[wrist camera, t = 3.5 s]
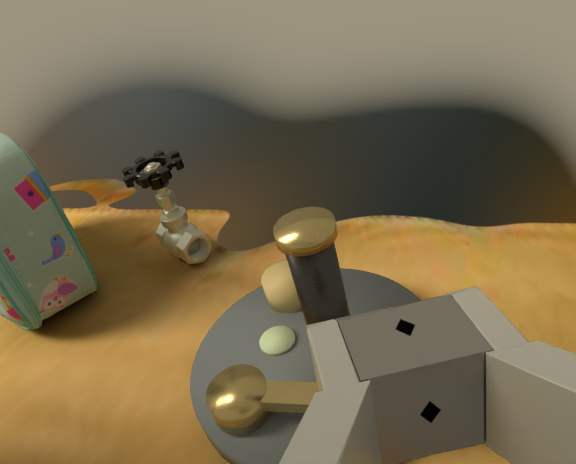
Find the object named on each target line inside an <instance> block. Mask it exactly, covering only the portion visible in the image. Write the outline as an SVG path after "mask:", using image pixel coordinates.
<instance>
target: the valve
mask: <svg viewBox="0 0 576 464" xmlns="http://www.w3.org/2000/svg"><path fill="white" fill-rule="evenodd" d="M135 163H136V166H134V167H130V166H129V167H126V168H124V169H123V170H122V172H123V174H124V176H125V177H124V178H123V180H124V182H125V184H126V186H127V187H128V188H130V187H133V186H134V184H133V182H134V181H135V182H136V183H137V184H138V185H140V186H141V187H142V188H148V187H151V189H152V190H157V191H158V194H157V195H156V199H157V202H158V204H159V206H160V207H162V208H163V209H164V210H163V211H162V214H161V215H160V221H161V224H160V225H159V227H158V228H157V230H156V235H157V237H158V240H159V242H160V244H161V245H162V246H163V247H165V248H166V249H167V250H168V251H169V252H170V253H171V254H172V255H173V256H175V257H178V258H181V259H182V260H184V261H185V262H187V263H188V264H196V263H202V262H204V261H205V260H206V258H207V257H208V256H209V254H210V252H211V250H212V244H211V242H210V239H209V237H208V235H207V234H206V233H204V232H202V231H201V230H199V229H198V228H197V227H196V226H195V225H193V224H192V223H189V222H187V219H188V215H187V212H186V210H185V208H183V207H178V206H177V205H174V204H175V202H176V199H175V197H174V194H173V192H172V191H171V190H167V189H166V186H167V185H168V184H169V181H168V180H170V179H171V178H172V174H171V172H170V170H171V169H172V168H173V167H176V168H177V170H181V169H182V168H184V165H183V162H182V159H181V157H180V154H179V152H178V151H177V150H174V151H171V152H170V153H169V154H168V155H165V154H164V152H163V150H159V151H156V152H155V153H154V156H153V157H151V158H147V159H145V158H144V157H139V158H137V159H136V160H135ZM159 163H160V164H159ZM142 169H144V171H145V174H139V172H140V171H141V170H142Z"/></svg>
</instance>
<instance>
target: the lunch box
mask: <svg viewBox="0 0 576 464" xmlns="http://www.w3.org/2000/svg"><path fill="white" fill-rule="evenodd" d="M96 289H98V281H97V278H96V276H95V273H94V270H93V268H92V266H91V264H90V262H89V260H88V258H87V255H86V253H85V251H84V249H83V247H82V245H81V243H80V241H79V239H78V237H77V235H76V233H75V231H74V229H73V228H72V226H71V224H70V222H69V220H68V218H67V217H66V215H65V213H64V211H63V209H62V208H61V206H60V204H59V203H58V201H57V199H56V198H55V196H54V194H53V193H52V191H51V189H50V188H49V186H48V184H47V183H46V181H45V180H44V178H43V176H42V175H41V173H40V172H39V170H38V168H37V166H36V165H35V163H34V162H33V160H32V159H31V157H30V156H29V155H28V154H27V152H26V151H25V150H24V149H23V148H22V147H21V146H20V145H19V144H17V143H16V142H15V141H14V140H13V139H12V138H10V137H8V136H7V135H5V134H3V133H1V132H0V314H1V315H2V316H3V317H5V318H7V319H8V320H10V321H12V322H14V323H15V324H17V325H18V326H20V327H21V328H23V329H25V330H31V329H35V328H37V329H38V328H39V327H41V326H42V321H43V319H46V318H48V317H50V316H52V315H54V314H55V313H57V312H59V311H60V310H62V309H64V308H66V307H68V306H69V305H71V304H73V303H75V302H76V301H78V300H80V299H81V298H83V297H85V296H87V295H88V294H90V293H92V292H95V290H96Z"/></svg>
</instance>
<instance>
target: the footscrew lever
mask: <svg viewBox="0 0 576 464" xmlns="http://www.w3.org/2000/svg"><path fill="white" fill-rule="evenodd" d="M273 234H274V237H275V241H276V244H277V247H278V249H279V250H280V251H281V252H282V253H284V254H286V257H287V261H288V264H289V267H290V271H291V274H292V278H293V281H294V284H295V288H296V291H297V295H298V298H299V301H300V305H301V308H302V312H303V315H304V318H305V322H306V325H310V324H314V323H319V322H323V321H328V320H332V319H335V320H336V318H341V317H346V316H350V312H349V307H348V303H347V298H346V294H345V290H344V285H343V281H342V276H341V272H340V267H339V263H338V258H337V254H336V249H335V245H334V241H335V239H336V237H337V227H336V222H335V218H334V215H333V214H332V213H331V212H330V211H329V210H327V209H324V208H321V207H305V208H300V209H297V210H293V211H291V212H289V213H287V214H285V215H284V216H282V217H281V218H280V219H279V220H278V221H277V222H276V224H275V225H274V228H273ZM316 392H319V390H318V385H317V382H293V381H266V379H265V377H264V374H263V373H262V372H261V370H259V369H258V368H257V367H255V366H252V365H248V364H239V365H234V366H231V367H228V368H226V369H224V370H223V371H221V372H220V373H218V374H217V375H216V376H215V377H214V378H213V379H212V381H211V382H210V384H209V385H208V387H207V390H206V395H205V399H206V404H207V406H208V408H209V410H210V412H211V414H212V416H213V418H214V420H215V421H216V423H217V425H218V427H219V428H220V429H221V430H222V431H223V432H225V433H227V434H230V435H238V436H239V435H245V434H249V433H251V432H253V431H255V430H257V429H259V428H260V427H261V426H262V425H263V424H264V423H265V422H266V421H267V420H268V418H269V417H270V415H271V413H272V412H286V413H303V414H305V412H306V410H307V408H308V406H309V404H310V402H311V400H312V398H313V396H314V394H315V393H316Z"/></svg>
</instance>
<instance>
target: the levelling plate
mask: <svg viewBox="0 0 576 464" xmlns="http://www.w3.org/2000/svg"><path fill="white" fill-rule="evenodd" d="M340 272H341V276H342V281H343V285H344V290H345V294H346V298H347V303H348V307H349V312H350V316H351V315H356V314H361V313H365V312H370V311H375V310H380V309H385V308H390V307H397V306H401V305H405V304H409V303H414V302H418V301H421V300H420V299H419V298H418V297H416V296H415V295H414V294H413V293H412V292H411V291H409V290H408V289H406V288H405V287H403V286H402V285H400V284H398V283H396V282H394V281H393V280H391V279H388V278H386V277H383V276H380V275H378V274H374V273H370V272H366V271H361V270H354V269H341V268H340ZM261 283H262V286H261V287H259V288H258V289H256V290H254V291H252V292H251V293H249V294H247V295H246V296H244V297H243V298H242V299H240V300H239V301H237V302H236V303H235V304H234V305H232V306H231V307H230V308H229V309H228V310H227V311H226V312H225V313H224V314H223V315H222V316H221V317H220V318H219V319H218V320H217V321H216V322H215V324H214V325H213V326H212V327H211V329H210V330H209V331H208V333H207V334H206V336H205V338H204V339H203V341H202V343H201V345H200V347H199V349H198V351H197V353H196V356H195V360H194V363H193V366H192V372H191V379H190V392H191V398H192V404H193V407H194V410H195V413H196V415H197V418H198V420H199V421H200V423H201V425H202V427H203V429H204V431H205V433H206V434H207V436H208V438H209V440H210V441H211V443H212V445H213V446H214V447H215V449H216V450H217V451H218V452H219V453H220V455H221V456H222V457H223V458H225V459H226V460H227V461H228V462H229V463H230V464H279V463H280V461H281V459H282V457H283V455H284V453H285V451H286V449H287V447H288V445H289V443H290V441H291V439H292V437H293V435H294V433H295V431H296V429H297V427H298V426H299V424H300V422H301V420H302V418H303V416H304V414H303V413H286V412H272V413H271V415H270V417H269V418H268V420H267V421H266V422H265V423H264V424H263V425H262V426H261V427H260V428H259V429H257V430H255V431H253V432H251V433H249V434H245V435H239V436H238V435H230V434H227V433H225V432H223V431H222V430H221V429H220V428H219V427H218V425H217V423H216V421H215V420H214V418H213V416H212V414H211V412H210V410H209V408H208V406H207V404H206V399H205V395H206V390H207V387H208V385H209V384H210V382H211V381H212V379H213V378H214V377H215V376H216V375H217V374H218V373H220V372H221V371H223V370H224V369H226V368H228V367H231V366H234V365H239V364H248V365H252V366H255V367H257V368H258V369H259V370H261V372H262V373H263V374H264V377H265V379H266V381H293V382H317V380H316V375H315V370H314V365H313V360H312V355H311V350H310V345H309V339H308V334H307V325H306V322H305V318H304V315H303V312H302V308H301V305H300V301H299V298H298V295H297V291H296V288H295V284H294V281H293V278H292V274H291V271H290V267H289V264H288V261H287V260H283V261H280V262H277V263H275V264H273V265H271V266H270V267H269V268H267V269H266V270H265V272H264V273H263V275H262V277H261Z"/></svg>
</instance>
